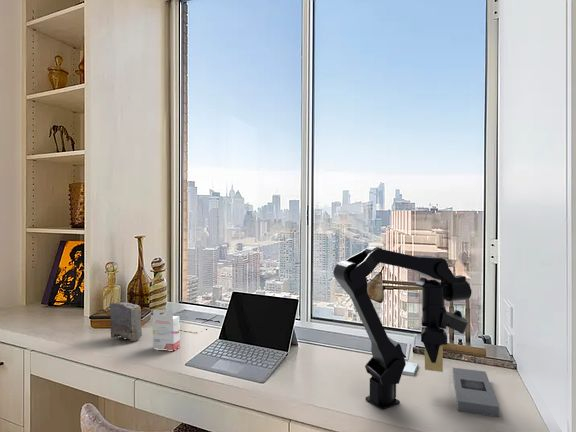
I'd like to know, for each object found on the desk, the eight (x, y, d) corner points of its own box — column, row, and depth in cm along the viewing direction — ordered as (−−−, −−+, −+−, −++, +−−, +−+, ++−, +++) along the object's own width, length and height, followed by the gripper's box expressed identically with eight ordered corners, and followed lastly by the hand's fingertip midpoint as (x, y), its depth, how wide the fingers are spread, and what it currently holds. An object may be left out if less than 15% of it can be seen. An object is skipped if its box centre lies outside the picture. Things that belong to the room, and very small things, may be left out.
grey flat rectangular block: (498, 417, 95) (498, 406, 94) (458, 410, 98) (458, 400, 97) (485, 379, 115) (485, 371, 115) (452, 375, 118) (452, 367, 118)
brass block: (442, 371, 104) (442, 345, 104) (424, 369, 105) (424, 344, 105) (441, 365, 108) (441, 340, 108) (424, 363, 110) (424, 338, 110)
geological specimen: (142, 339, 152) (142, 301, 152) (130, 344, 147) (130, 304, 147) (121, 336, 156) (121, 298, 156) (109, 340, 151) (108, 302, 151)
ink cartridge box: (180, 347, 143) (180, 307, 143) (173, 352, 139) (173, 310, 138) (159, 345, 145) (159, 306, 145) (152, 350, 141) (151, 309, 140)
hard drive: (418, 363, 125) (379, 356, 131) (414, 372, 118) (373, 365, 124) (418, 368, 125) (379, 361, 131) (414, 378, 118) (373, 370, 124)
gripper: (469, 313, 95) (469, 377, 95) (462, 297, 113) (462, 351, 113) (421, 309, 99) (421, 371, 99) (421, 294, 116) (421, 346, 117)
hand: (433, 359), depth 107 cm, fingers closed on brass block, 4 cm apart
